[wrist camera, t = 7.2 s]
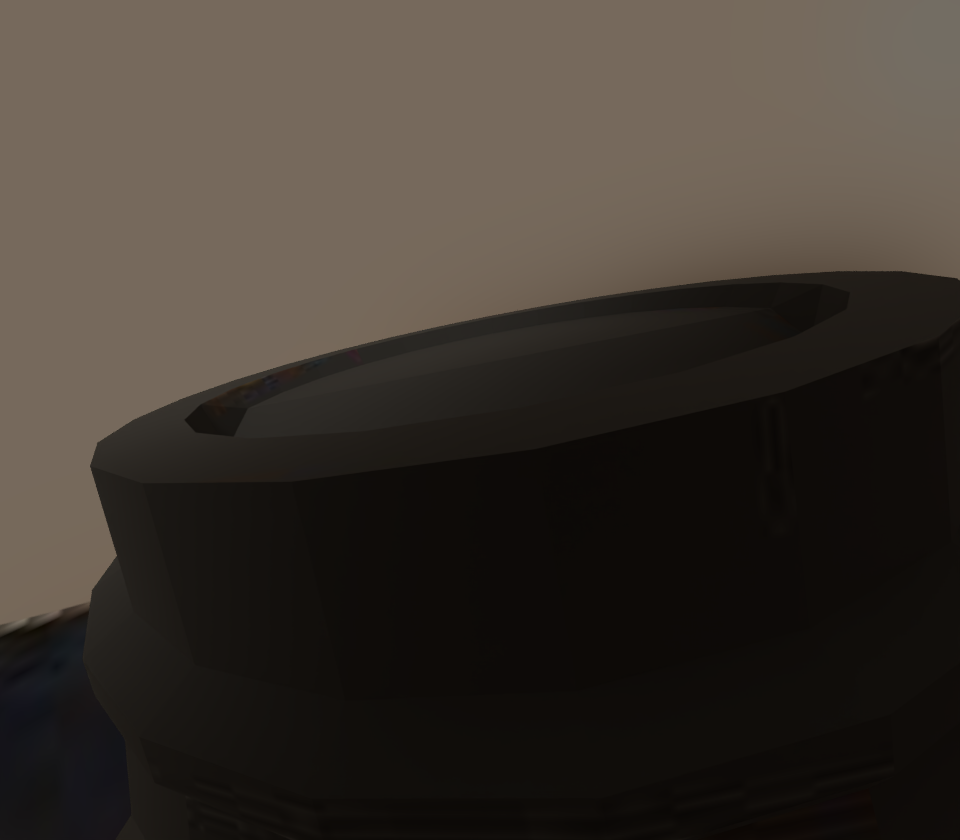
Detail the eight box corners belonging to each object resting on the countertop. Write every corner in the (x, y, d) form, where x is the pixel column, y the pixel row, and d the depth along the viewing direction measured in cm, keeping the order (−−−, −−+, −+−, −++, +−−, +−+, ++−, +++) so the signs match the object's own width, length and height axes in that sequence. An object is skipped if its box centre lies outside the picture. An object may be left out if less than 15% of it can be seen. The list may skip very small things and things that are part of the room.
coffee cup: (1152, 1706, 5) (2698, 156, 1) (387, 1737, 5) (-880, 772, 1) (737, 830, 13) (705, 272, 9) (442, 869, 13) (283, 354, 9)
